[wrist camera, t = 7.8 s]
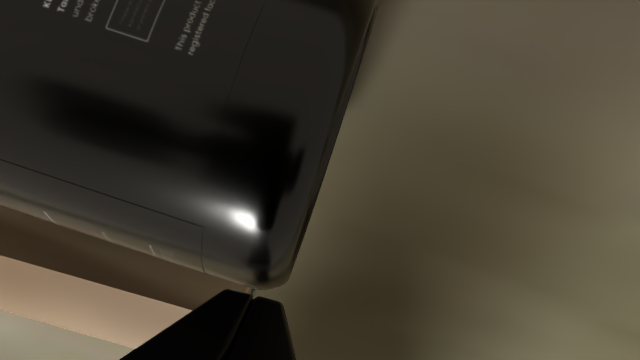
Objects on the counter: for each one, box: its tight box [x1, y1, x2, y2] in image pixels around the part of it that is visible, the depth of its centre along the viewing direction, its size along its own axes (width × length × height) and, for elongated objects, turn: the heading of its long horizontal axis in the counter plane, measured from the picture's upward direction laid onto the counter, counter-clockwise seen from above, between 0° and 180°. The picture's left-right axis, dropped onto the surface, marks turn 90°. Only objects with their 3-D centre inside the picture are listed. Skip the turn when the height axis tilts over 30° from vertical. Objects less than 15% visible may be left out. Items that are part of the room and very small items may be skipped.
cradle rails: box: [0, 206, 250, 349], centre depth 14 cm, size 14×13×2 cm
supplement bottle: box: [0, 0, 379, 290], centre depth 11 cm, size 7×7×12 cm
